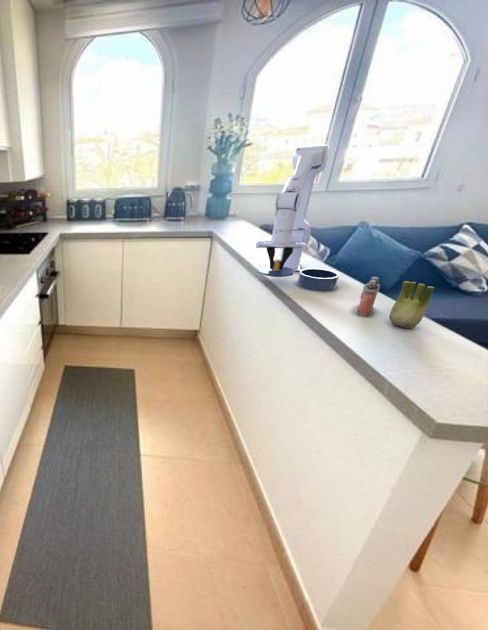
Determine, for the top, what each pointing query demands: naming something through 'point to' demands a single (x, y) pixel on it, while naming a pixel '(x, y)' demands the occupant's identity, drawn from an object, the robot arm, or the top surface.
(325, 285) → the bowl
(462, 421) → the top surface
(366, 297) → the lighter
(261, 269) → the tin lid
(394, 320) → the fennel bulb
